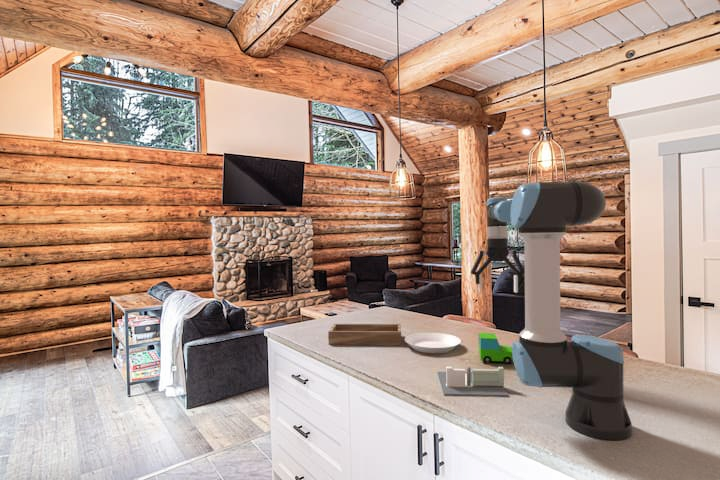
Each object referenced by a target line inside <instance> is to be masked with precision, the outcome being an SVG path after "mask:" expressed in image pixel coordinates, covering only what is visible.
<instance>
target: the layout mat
mask: <svg viewBox="0 0 720 480" xmlns="http://www.w3.org/2000/svg"><path fill="white" fill-rule="evenodd" d="M437 375H438V379H439V382H440V387H441V389H442V393H443V396H452V397H453V396H454V397H455V396H456V397H458V396H461V397H463V396H466V397H509V396H510V395H509V393H508V392H507V390H506V389H505V386H477V385H473V383H472V371H471V386H467V371H465V386H447V384H446V371H437Z"/></svg>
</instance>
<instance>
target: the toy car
mask: <svg viewBox="0 0 720 480" xmlns="http://www.w3.org/2000/svg"><path fill="white" fill-rule="evenodd" d="M478 354H479V355H478V356H479V359H480V361H482V362H484V363H485V364H491V362H503V363H504V364H505V365H510V364H511V363H512V362H513V363H514V361H513V356H512V346H508V345H502V344H500V343H499V341H498V338H497V335H496V334H495V333H493V332H491V333H487V332H486V333H485V332H479V333H478Z"/></svg>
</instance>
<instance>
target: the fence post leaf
mask: <svg viewBox="0 0 720 480" xmlns="http://www.w3.org/2000/svg"><path fill="white" fill-rule="evenodd" d="M471 369H472V368H471V367H470V366H467V367H466V370H465V368H453V367H452V366H446V367H445V372H446V384H447V386H465V372H467V386H471V372H472V370H471Z"/></svg>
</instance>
